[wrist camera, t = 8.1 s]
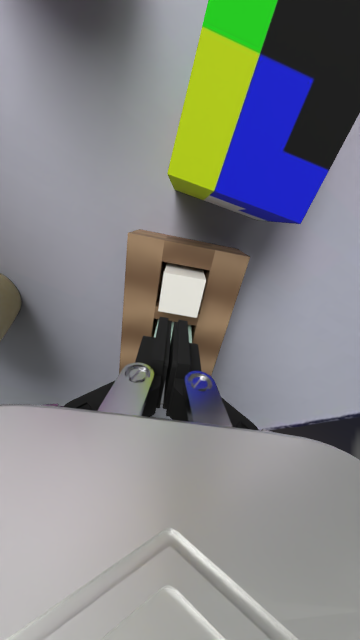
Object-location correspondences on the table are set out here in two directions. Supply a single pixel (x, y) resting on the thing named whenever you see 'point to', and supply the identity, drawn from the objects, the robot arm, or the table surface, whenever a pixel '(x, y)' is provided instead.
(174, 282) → the key ivory
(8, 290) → the plant pot
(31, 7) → the table surface
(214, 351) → the brown wooden block holder
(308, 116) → the puzzle toy
